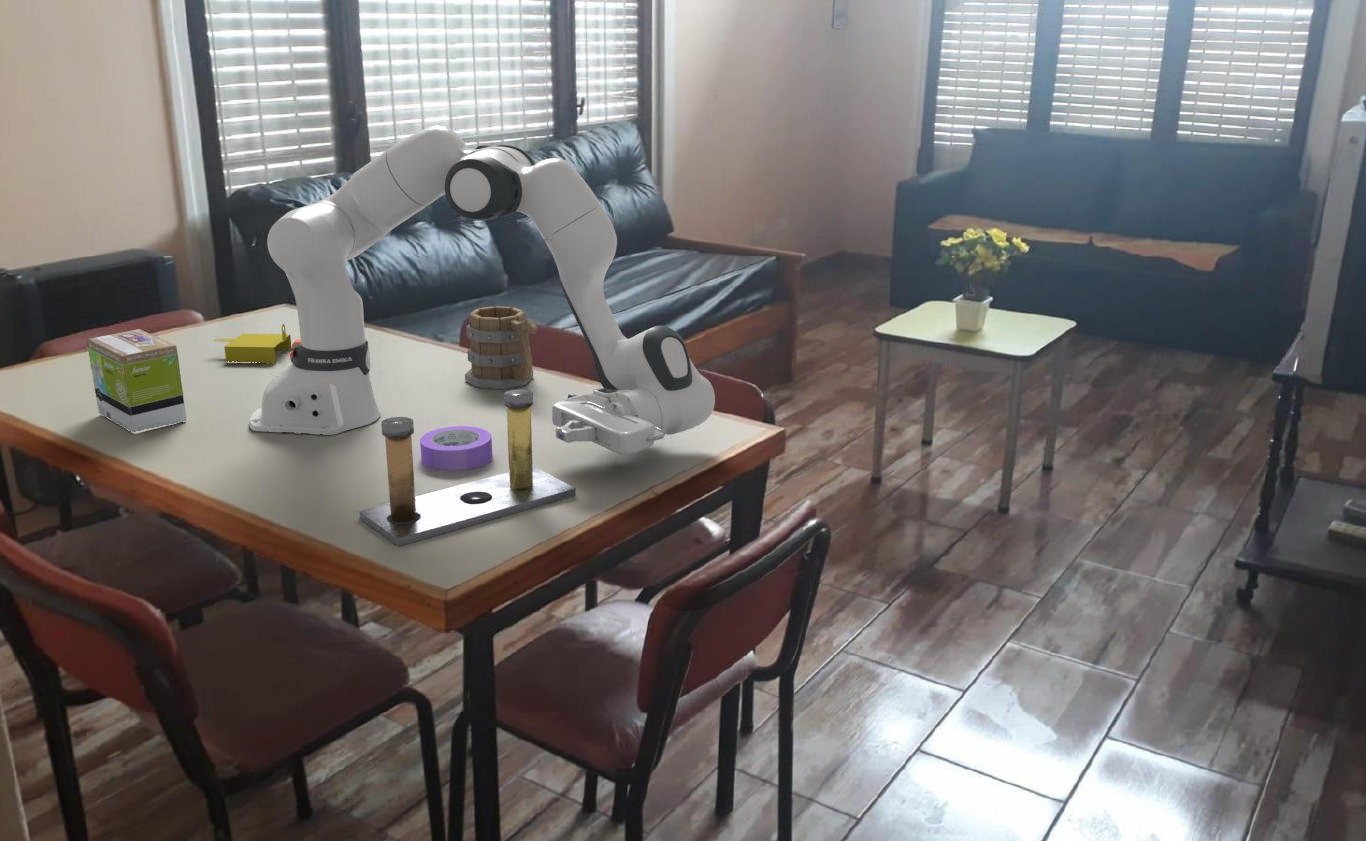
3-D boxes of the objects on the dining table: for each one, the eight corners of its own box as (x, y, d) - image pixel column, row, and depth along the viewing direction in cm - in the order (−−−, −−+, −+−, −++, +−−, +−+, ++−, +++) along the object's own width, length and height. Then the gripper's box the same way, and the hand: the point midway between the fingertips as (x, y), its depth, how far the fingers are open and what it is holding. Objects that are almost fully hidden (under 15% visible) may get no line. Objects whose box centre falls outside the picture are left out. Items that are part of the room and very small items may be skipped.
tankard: (456, 377, 243) (453, 305, 238) (511, 367, 250) (509, 297, 245) (504, 403, 228) (501, 326, 223) (561, 391, 235) (560, 317, 230)
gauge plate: (398, 546, 167) (397, 538, 167) (360, 518, 176) (359, 510, 175) (575, 495, 185) (575, 487, 185) (533, 472, 194) (532, 465, 194)
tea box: (96, 416, 217) (84, 337, 212) (151, 404, 224) (140, 327, 219) (132, 436, 208) (121, 353, 203) (189, 422, 215) (178, 342, 210)
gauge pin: (516, 491, 183) (513, 400, 178) (501, 482, 186) (498, 393, 181) (541, 484, 185) (538, 394, 180) (525, 476, 188) (522, 387, 184)
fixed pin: (396, 525, 170) (390, 429, 166) (382, 516, 174) (375, 420, 169) (424, 518, 173) (418, 422, 168) (410, 508, 176) (404, 414, 172)
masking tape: (429, 475, 193) (428, 453, 191) (414, 452, 203) (413, 430, 202) (500, 466, 197) (499, 444, 196) (482, 443, 207) (481, 422, 206)
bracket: (225, 314, 260) (294, 315, 260) (229, 348, 262) (298, 349, 262) (197, 332, 245) (270, 333, 245) (202, 368, 247) (274, 370, 247)
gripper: (671, 453, 189) (600, 473, 181) (595, 420, 204) (526, 437, 196) (671, 415, 187) (599, 434, 179) (594, 385, 202) (525, 401, 194)
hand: (560, 435), depth 188 cm, fingers closed
